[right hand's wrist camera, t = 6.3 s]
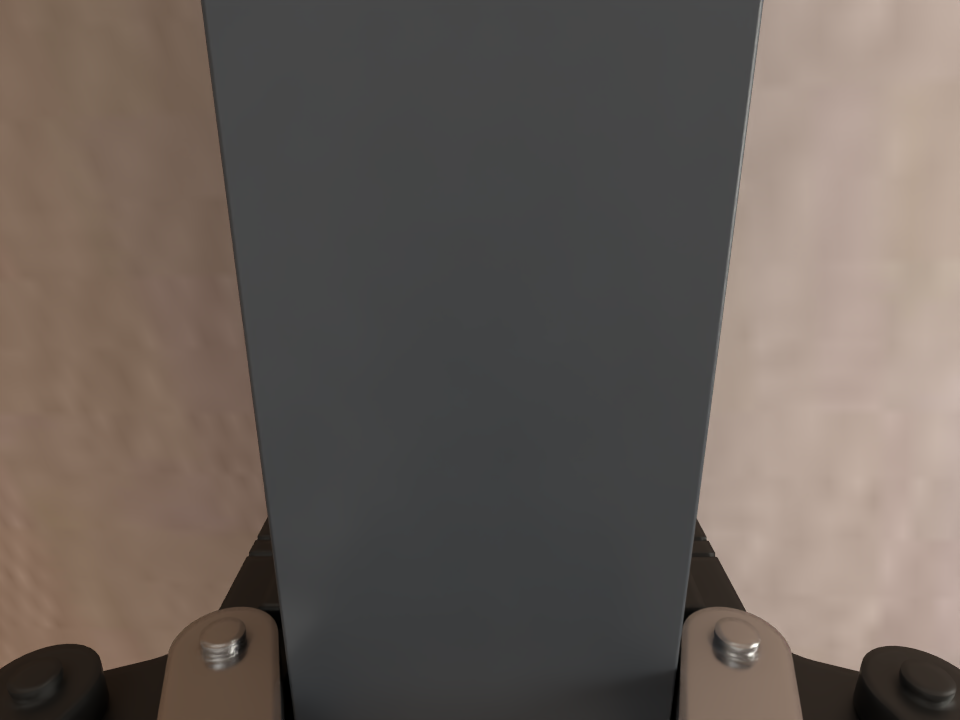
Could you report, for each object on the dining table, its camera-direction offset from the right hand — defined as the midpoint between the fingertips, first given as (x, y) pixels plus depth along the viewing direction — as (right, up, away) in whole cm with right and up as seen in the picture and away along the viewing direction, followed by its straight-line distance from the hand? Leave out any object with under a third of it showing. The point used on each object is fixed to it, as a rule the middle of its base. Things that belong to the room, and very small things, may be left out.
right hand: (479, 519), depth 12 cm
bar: (0, +32, -9) cm, 33 cm away
